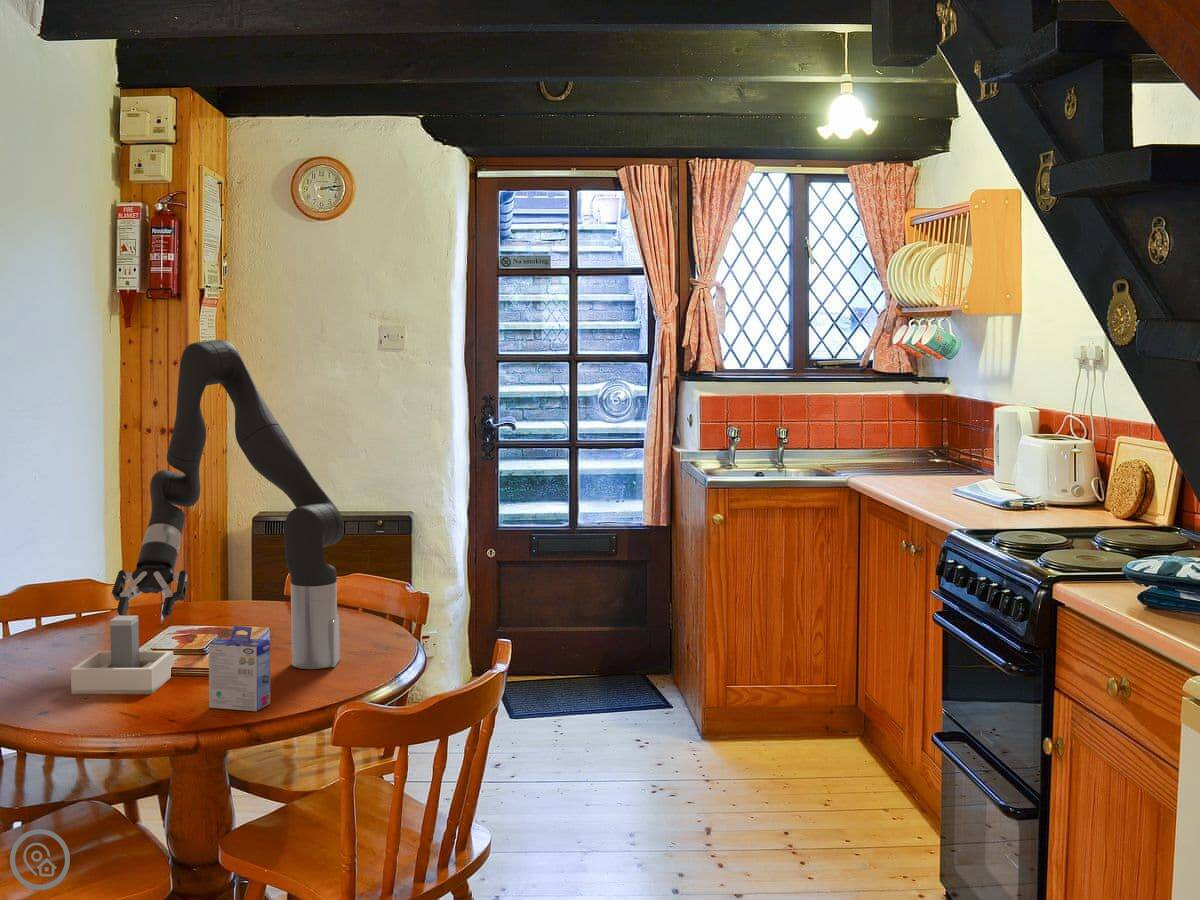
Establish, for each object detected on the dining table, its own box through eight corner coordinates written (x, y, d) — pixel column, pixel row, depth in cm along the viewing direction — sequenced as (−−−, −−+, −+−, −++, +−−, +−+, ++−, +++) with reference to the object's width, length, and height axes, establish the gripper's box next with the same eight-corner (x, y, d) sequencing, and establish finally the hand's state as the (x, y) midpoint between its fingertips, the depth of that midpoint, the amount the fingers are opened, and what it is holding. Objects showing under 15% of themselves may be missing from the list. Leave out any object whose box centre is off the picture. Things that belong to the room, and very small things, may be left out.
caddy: (173, 674, 240) (173, 651, 239) (152, 694, 227) (151, 669, 226) (97, 674, 239) (96, 651, 239) (71, 694, 226) (70, 669, 226)
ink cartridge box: (272, 703, 222) (271, 626, 220) (258, 712, 216) (256, 634, 215) (223, 699, 224) (222, 623, 222) (208, 708, 218) (206, 630, 217)
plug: (139, 675, 236) (138, 615, 235) (133, 681, 232) (131, 620, 231) (119, 675, 236) (117, 615, 235) (111, 681, 232) (110, 620, 231)
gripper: (120, 540, 251) (102, 606, 241) (189, 540, 251) (174, 606, 241) (130, 560, 257) (112, 625, 246) (197, 560, 257) (183, 625, 247)
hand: (143, 616), depth 244 cm, fingers open, 8 cm apart
